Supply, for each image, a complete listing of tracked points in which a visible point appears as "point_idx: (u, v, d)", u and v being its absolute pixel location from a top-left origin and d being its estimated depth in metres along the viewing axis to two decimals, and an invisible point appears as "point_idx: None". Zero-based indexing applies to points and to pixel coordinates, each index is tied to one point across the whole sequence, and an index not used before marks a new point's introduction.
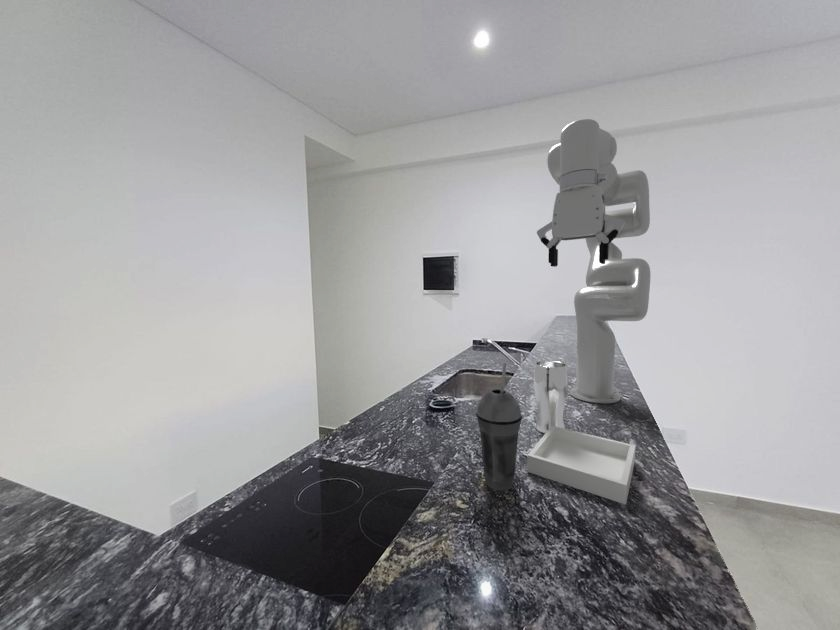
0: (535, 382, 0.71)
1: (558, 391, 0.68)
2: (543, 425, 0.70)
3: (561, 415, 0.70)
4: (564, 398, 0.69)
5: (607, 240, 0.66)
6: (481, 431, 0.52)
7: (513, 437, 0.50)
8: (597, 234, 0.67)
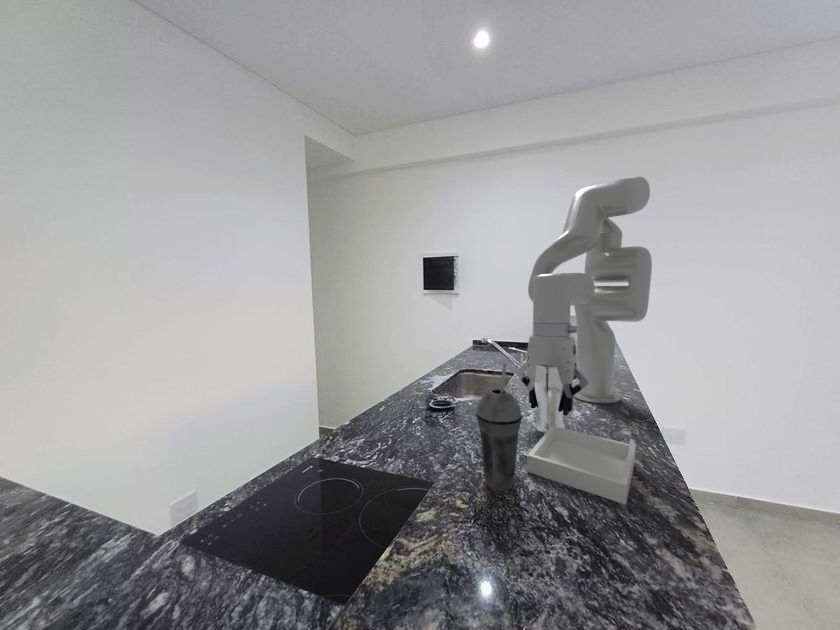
0: (534, 382, 0.71)
1: (557, 391, 0.68)
2: (543, 425, 0.70)
3: (561, 415, 0.70)
4: None
5: (570, 395, 0.68)
6: (481, 431, 0.52)
7: (513, 437, 0.50)
8: (568, 384, 0.68)
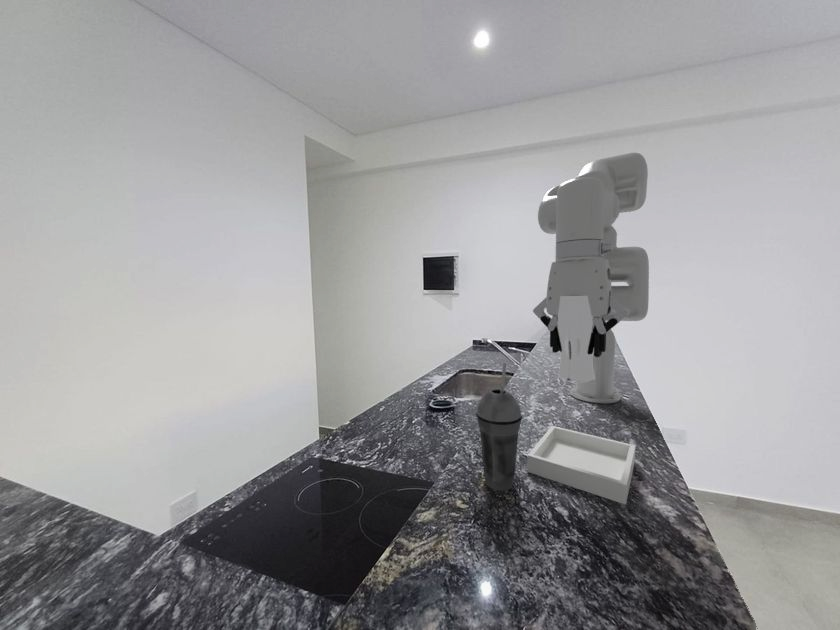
0: (557, 318, 0.58)
1: (587, 325, 0.55)
2: (568, 370, 0.57)
3: (591, 357, 0.56)
4: None
5: (604, 330, 0.54)
6: (481, 431, 0.52)
7: (513, 437, 0.50)
8: (601, 317, 0.54)
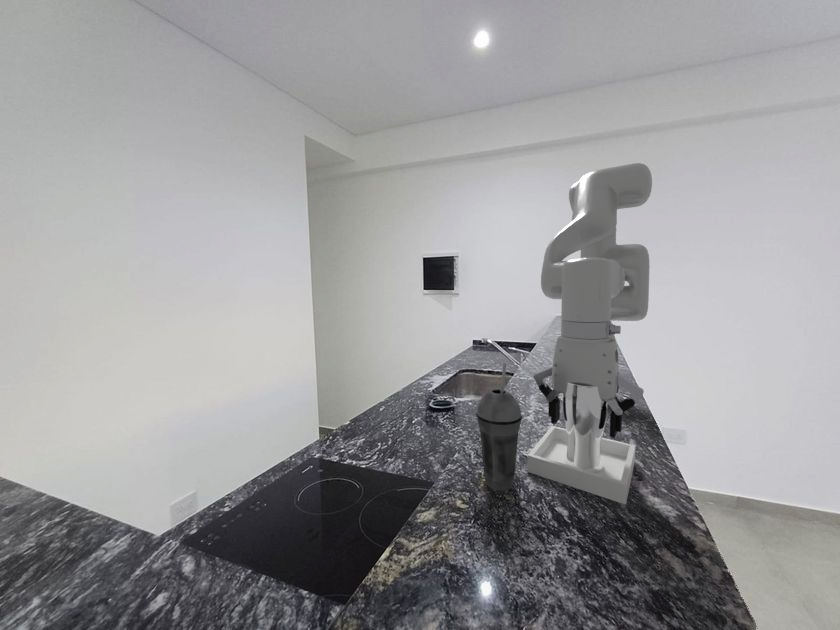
0: (565, 404, 0.56)
1: (597, 417, 0.53)
2: (576, 459, 0.55)
3: (599, 446, 0.55)
4: (603, 425, 0.54)
5: (621, 411, 0.52)
6: (481, 431, 0.52)
7: (513, 437, 0.50)
8: (609, 401, 0.53)
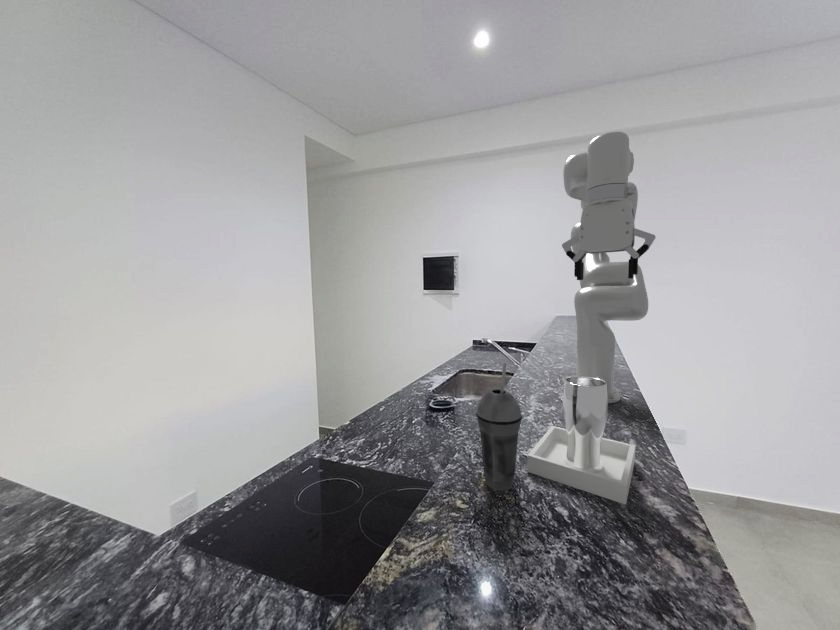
0: (565, 404, 0.56)
1: (597, 417, 0.53)
2: (576, 459, 0.55)
3: (599, 446, 0.55)
4: (604, 425, 0.54)
5: (637, 255, 0.64)
6: (481, 431, 0.52)
7: (513, 437, 0.50)
8: (626, 249, 0.65)
